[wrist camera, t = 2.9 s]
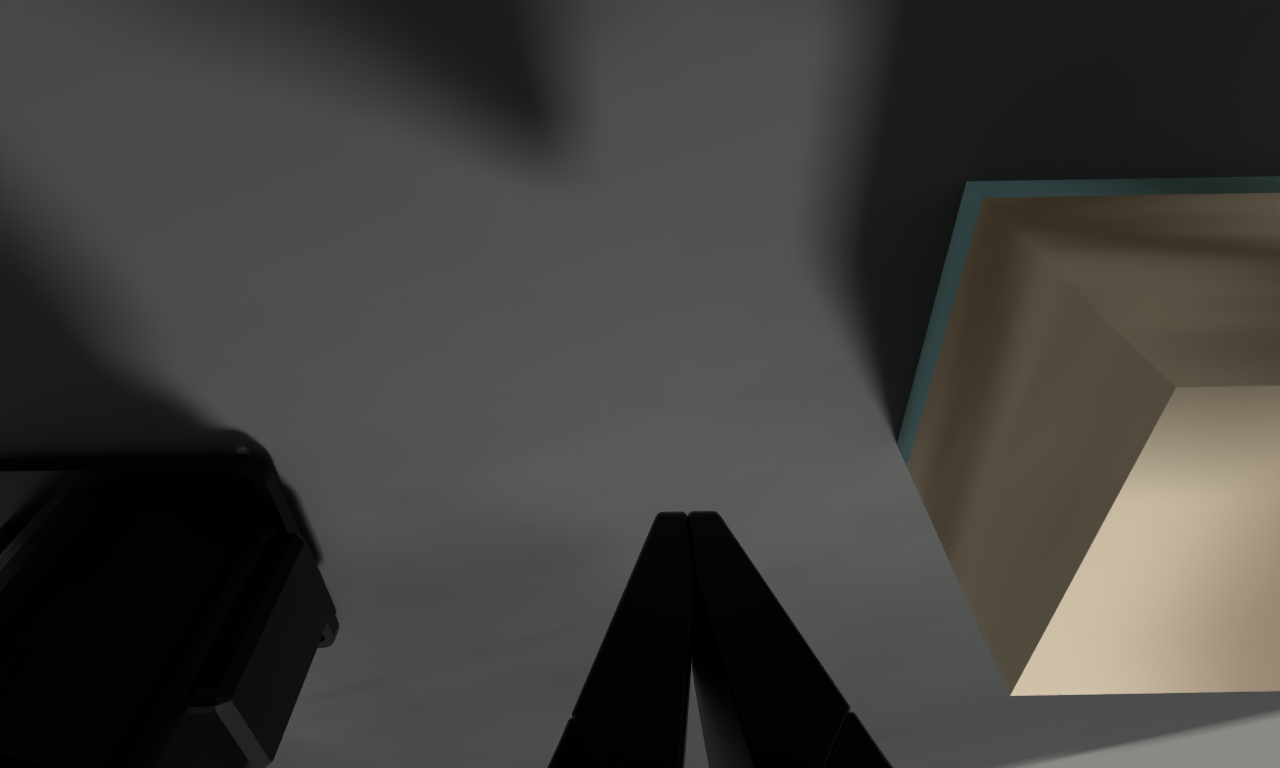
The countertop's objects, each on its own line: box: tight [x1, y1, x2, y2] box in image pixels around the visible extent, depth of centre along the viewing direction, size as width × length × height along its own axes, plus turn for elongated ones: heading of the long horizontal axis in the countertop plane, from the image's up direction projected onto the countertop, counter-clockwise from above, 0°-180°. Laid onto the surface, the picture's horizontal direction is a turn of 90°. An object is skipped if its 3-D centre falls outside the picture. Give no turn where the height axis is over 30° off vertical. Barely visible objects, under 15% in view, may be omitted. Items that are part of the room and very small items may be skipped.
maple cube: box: [897, 176, 1280, 696], centre depth 12 cm, size 6×6×6 cm
